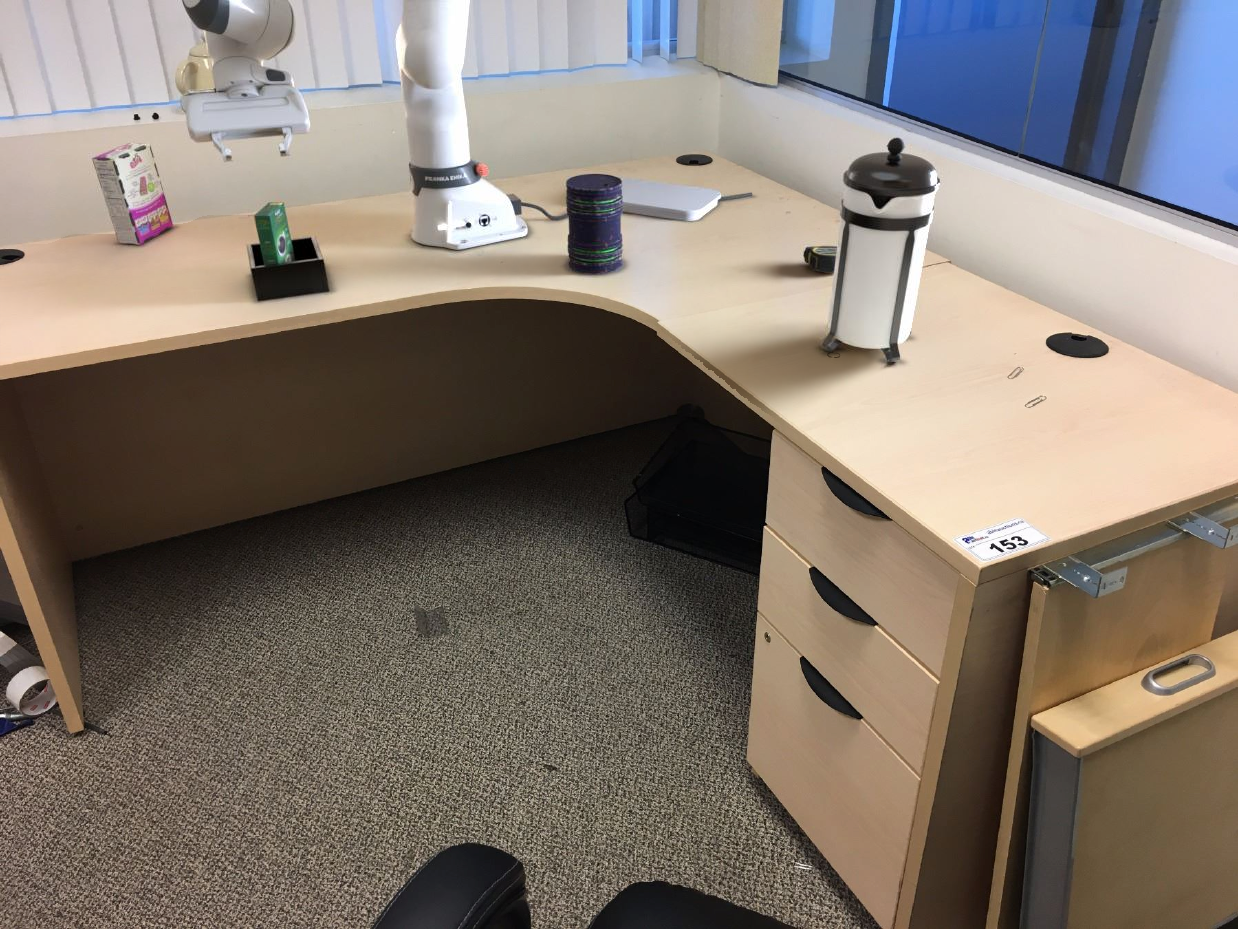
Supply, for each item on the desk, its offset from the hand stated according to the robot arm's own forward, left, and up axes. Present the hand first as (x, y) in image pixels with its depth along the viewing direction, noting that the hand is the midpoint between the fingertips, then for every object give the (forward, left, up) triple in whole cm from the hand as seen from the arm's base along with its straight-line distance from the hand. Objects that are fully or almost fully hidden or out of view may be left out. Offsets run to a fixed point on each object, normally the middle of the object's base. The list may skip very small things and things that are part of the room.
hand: (256, 157), depth 163 cm
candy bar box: (+23, -23, -18) cm, 37 cm away
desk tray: (-1, +14, -18) cm, 23 cm away
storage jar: (-53, +25, -18) cm, 62 cm away
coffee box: (0, +14, -18) cm, 23 cm away
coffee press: (-80, +70, -18) cm, 108 cm away
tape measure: (-90, +42, -18) cm, 101 cm away
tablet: (-77, -4, -18) cm, 79 cm away
